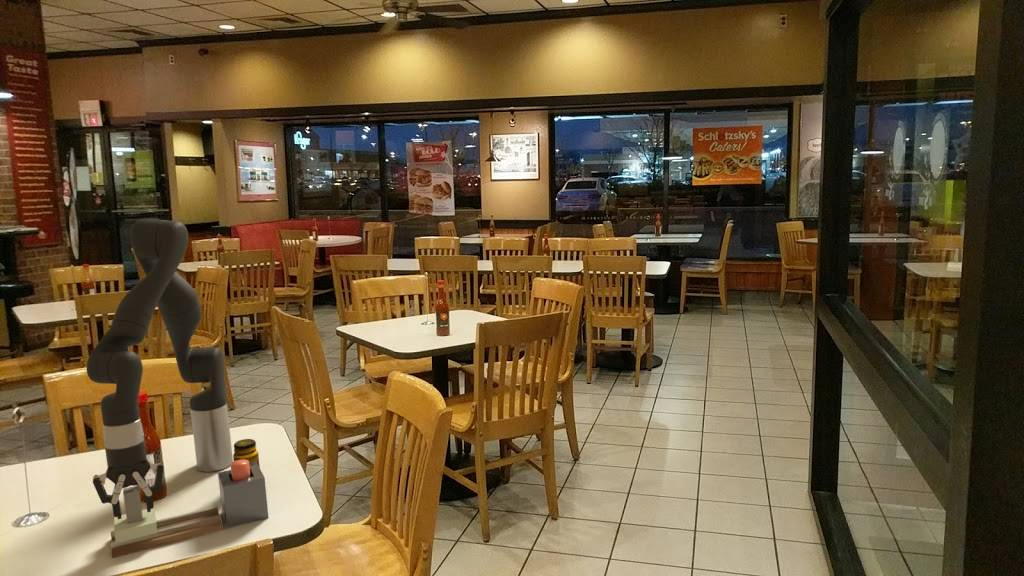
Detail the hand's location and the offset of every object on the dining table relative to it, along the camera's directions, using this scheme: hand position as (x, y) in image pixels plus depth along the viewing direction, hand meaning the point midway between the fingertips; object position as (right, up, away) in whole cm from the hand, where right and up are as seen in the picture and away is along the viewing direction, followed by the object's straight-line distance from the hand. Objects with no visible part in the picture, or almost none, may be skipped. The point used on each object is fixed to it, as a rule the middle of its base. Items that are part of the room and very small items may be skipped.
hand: (134, 513), depth 156 cm
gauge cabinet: (+20, -4, +12) cm, 23 cm away
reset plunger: (+20, +3, +11) cm, 23 cm away
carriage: (0, -4, +1) cm, 4 cm away
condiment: (+14, -2, +27) cm, 30 cm away
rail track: (+5, -6, +4) cm, 9 cm away
